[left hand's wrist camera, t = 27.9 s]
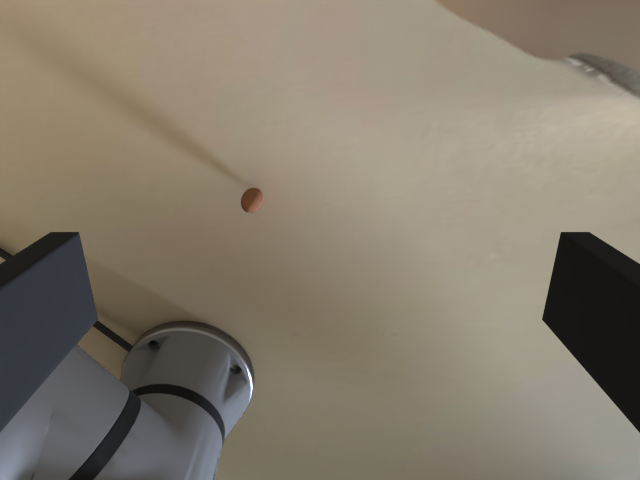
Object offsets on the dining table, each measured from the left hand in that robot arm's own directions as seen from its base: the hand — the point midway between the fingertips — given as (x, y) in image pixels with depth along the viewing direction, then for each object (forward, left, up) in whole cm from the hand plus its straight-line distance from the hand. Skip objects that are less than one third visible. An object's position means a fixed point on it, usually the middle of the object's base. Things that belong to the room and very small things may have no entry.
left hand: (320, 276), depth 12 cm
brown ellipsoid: (-4, -9, -33) cm, 34 cm away
